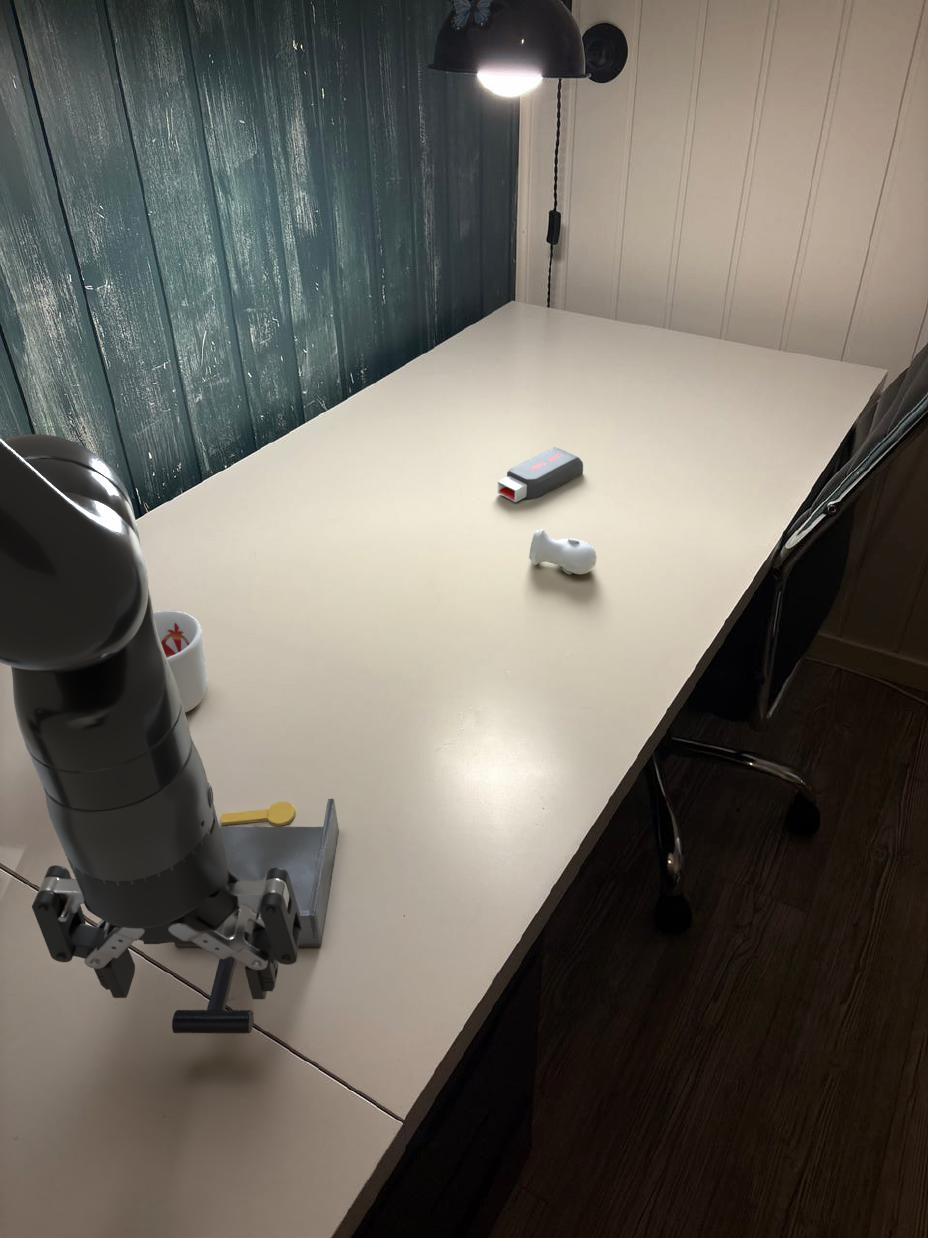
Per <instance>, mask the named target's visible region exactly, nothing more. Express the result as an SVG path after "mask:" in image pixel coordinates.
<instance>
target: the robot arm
mask: <svg viewBox="0 0 928 1238" xmlns="http://www.w3.org/2000/svg"><path fill="white" fill-rule="evenodd" d="M141 543H142V542H141V539H140V533H139V529H138V525H137V520H136V515H135V512H134V507H133V504H132V501H131V497H130V495H129V493H128V491H127V488H126V486H125V484H124V483H123V481H122V480H121V479H120V477H119V475H118V474H117V473H116V472H115V470H114V469H113V468H112V467H111V466H110V465H109V464H108V462H106V461H105V460H104V459H102V458H101V457H100V456H99V455H98V454H96V453H95V452H94V451H92V450H90V449H89V448H87V447H85V446H83V445H82V444H80V443H77V442H75V441H72V440H70V439H67V438H63V437H60V436H55V435H51V434H41V433H38V434H37V433H30V434H23V435H17V436H14V437H10V438H7V439H3V438H1V437H0V664H3V665H6V666H9V667H10V670H11V677H12V693H13V704H14V710H15V711H14V712H15V715H16V720H17V724H18V727H19V731H20V733H21V736H22V739H23V742H24V744H25V745H24V746H25V747H26V750H27V752H28V755H29V757H30V760H31V762H32V765H33V767H34V768H35V771H36V774H37V776H38V778H39V780H40V783H41V786H42V788H43V791H44V795H45V802H46V807H47V810H48V815H49V818H50V821H51V823H52V826H53V829H54V832H55V833H56V836H57V838H58V840H59V843H60V844H61V848H62V849H63V852H64V855H65V857H66V859H67V861H68V864H69V867H70V868H71V871H72V873H73V875H74V878H72V875H71V873H70V871H69V869H68V868H66V867H64V866H63V865H59V864H58V865H57V864H55V865H51V866H49V867H48V868H47V870H46V872H45V875H44V877H43V880H42V882H41V884H40V887H39V889H38V891H37V894H36V895H35V898H34V900H33V903H32V905H31V908H32V911H33V913H34V916H35V919H36V921H37V924H38V927H39V929H40V932H41V934H42V937H43V940H44V942H45V945H46V947H47V950H48V952H49V955H50V957H51V958H52V959H53V960H54V961H56V962H59V963H69V962H71V961H72V960H73V958H74V957H76V958H81V959H84V964H85V965H86V966H87V967H88V968H91V969H93V970H94V972H95V975H96V977H97V979H98V981H99V984H100V986H101V987H103V988H104V989H105V990H107V991H110V994H111V996H112V998H114V999H126V998H127V997H128V995H129V994H130V993H129V992H130V990H131V986H132V983H133V980H134V976H135V973H136V972H135V971H136V964H135V962H134V959H133V957H132V954H131V952H130V949H129V948H130V946H131V945H132V944H133V943H134V942H137V941H141V942H143V944H144V945H161V944H168V943H173V944H174V943H178V944H186V945H198V946H197V947H199V948H201V949H203V950H205V951H206V952H207V953H209V954H211V955H213V956H215V957H216V958H218V959H219V960H220V959H226V958H228V957H230V956H231V957H233V958H234V959H236V960H237V962H239V963H241V964H243V965H244V966H245V967H244V972H245V977H246V980H247V983H248V987H249V988H248V989H249V992H250V995H251V998H252V999H251V1000H266V997H267V992H273V991H274V989H275V988H276V982H277V976H278V971H279V964H282V965H287V966H289V965H293V964H295V963H296V962H297V959H298V953H299V951H298V950H299V949H298V948H299V947H298V943H299V937H300V932H301V930H302V924H303V922H302V919H301V915H300V912H299V908H298V905H297V901H296V898H295V894H294V891H293V888H292V884H291V881H290V877H289V874H288V872H287V871H286V870H285V869H282V868H271V869H270V870H268V872H267V877H266V880H259V881H240V879H239V878H238V876H237V875H236V874H234V873H233V872H232V871H231V870H230V869H229V867H228V865H227V859H226V853H225V848H224V843H223V840H222V836H221V832H220V828H219V827H220V824H219V820H218V816H217V813H216V808H215V805H214V792H213V787H212V785H211V784H210V782H209V781H208V777H207V772H206V768H205V766H204V764H203V760H202V758H201V755H200V753H199V751H198V748H197V747H196V745H195V743H194V741H193V738H192V735H191V732H190V727H189V723H188V720H187V715H186V712H185V711H184V707H183V703H182V700H181V696H180V693H179V689H178V686H177V683H176V680H175V677H174V675H173V673H172V670H171V668H170V665H169V663H168V660H167V657H166V655H165V652H164V650H163V647H162V644H161V641H160V638H159V635H158V632H157V628H156V623H155V618H154V613H153V612H154V608H153V602H152V597H151V592H150V586H149V574H148V569H147V563H146V559H145V555H144V551H143V547H142V544H141ZM82 904H84V907H85V908H86V910H87V911H88V912H90V913H91V914H92V915H93V916H95V917H97V918H99V919H101V920H100V921H99V922H98V923H97V925H96V926H95V925H90V924H86V923H87V920H86V917H85V914H84V912H83V908H82V906H81V905H82ZM251 910H252V911H251ZM254 913H255V914H254ZM256 914H257V915H256ZM223 922H224V925H223V930H222V934H220V933H218V932H217V931H216V929H217V928H218V927H219V926H220V925H221V924H222V923H223ZM245 932H247V933H248V934H250V935H252V936H251V941H250V944H249V943H247V942H246V941H245V938H244V935H245Z"/></svg>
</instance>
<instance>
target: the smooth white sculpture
mask: <svg viewBox="0 0 928 1238" xmlns="http://www.w3.org/2000/svg"><path fill="white" fill-rule="evenodd" d="M528 559H529V560H530V561H531V562H532V563H533V565H534V566H537V565H538V564H540V563H543V562H544V563H545V562H546V563H550V564H554V565H557V566H560V567H562V571H563V572H564V573H565V574H567V575H572V574H574V575H575V574H576V575H586V574H588V573H590V572H591V571H592V570H593V569H594V567H595V565H596V563H597V552H596V550H595V548H594V547H593V546H592V545H591V544H590V543H588V542H586V541H583V540H580V539H577V538H571V537H570V538H561V539H554V538H552V537H550V536H549V535H548V534H547V532H546V531H545V528H544V529H540V530H535V531H534V533H533V536H532V539H531V543H530V547H529V555H528Z"/></svg>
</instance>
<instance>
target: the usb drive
mask: <svg viewBox="0 0 928 1238" xmlns="http://www.w3.org/2000/svg"><path fill="white" fill-rule="evenodd" d="M583 473H584V462H583V460H582V459H581V458H580V457H579V456H576V455H574V454H573V453H571V452H567V451H566V450H563V449H561V448H559V447H552V448H550V449H547V450H545V451H544V452H541V453H540V454H538V455H535V456H533V457H531V458H530V459H528V460H526V461H523V462H522V463H520V464H518V465H516V466H513V467H512V468H510V469H509V470H508V471H507V472H506V477H504V478H502V479H500V480H498V481H497V494H498V495H500V496H503V497H505V498H507V499H508V500H510V501H512V502H514V503H517V502H519V501H521V500H523V499H525V498H526V499H528V500H532V499H536V498H540V497H542V496H544V495H546V494H548V493H549V492H552V491H553V490H555V489H557V488H558V487H561V486H562V485H564V484H566V483H569V481H572V480H573V479H575V478H577V477H579V476H581V475H582V474H583Z"/></svg>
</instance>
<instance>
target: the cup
mask: <svg viewBox="0 0 928 1238" xmlns="http://www.w3.org/2000/svg"><path fill="white" fill-rule="evenodd" d="M153 613H154V618H155V623H156V628H157V632H158V635H159V638H160V641H161V644H162V647H163V650H164V652H165V655H166V657H167V660H168V663H169V665H170V668H171V670H172V673H173V675H174V677H175V680H176V683H177V686H178V689H179V693H180V696H181V700H182V703H183V707H184V711H185V713H187V712H190V711H191V710H193V709H195V708H196V707H197V706H199V704H200V703H201V702H202V701H203V700H204V698H205V696H206V694H207V692H208V688H209V687H208V685H209V679H208V669H207V661H206V653H205V652H206V651H205V646H204V645H205V644H204V637H203V636H204V635H203V630H202V626H201V624H200V622H199V621H198V619H196V617H194V616H193V615H191V614H189V613H187V612H184V611H179V610H169V609H168V610H158V611H153Z"/></svg>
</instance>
